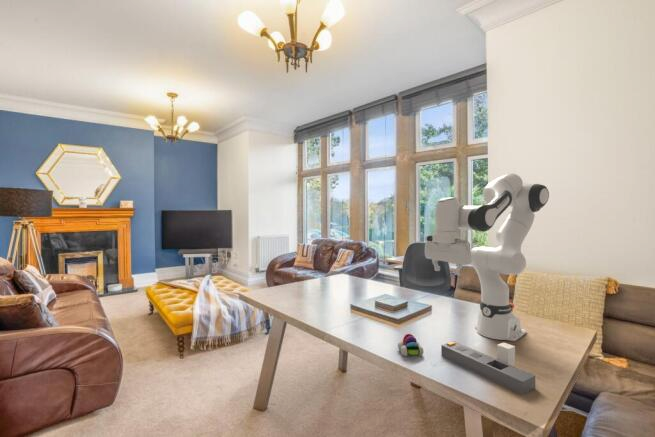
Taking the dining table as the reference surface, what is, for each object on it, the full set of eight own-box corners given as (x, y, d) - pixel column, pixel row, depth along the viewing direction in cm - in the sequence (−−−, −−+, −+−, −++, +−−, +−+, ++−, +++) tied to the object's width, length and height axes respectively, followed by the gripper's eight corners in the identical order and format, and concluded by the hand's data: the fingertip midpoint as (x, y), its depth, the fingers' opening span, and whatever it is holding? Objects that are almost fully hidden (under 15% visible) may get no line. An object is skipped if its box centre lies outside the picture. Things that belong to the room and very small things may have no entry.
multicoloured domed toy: (417, 347, 131) (417, 330, 131) (425, 359, 122) (425, 340, 121) (396, 348, 131) (396, 330, 131) (402, 359, 121) (403, 340, 121)
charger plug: (503, 367, 115) (503, 342, 114) (514, 372, 111) (515, 346, 111) (496, 370, 113) (497, 344, 112) (508, 375, 109) (508, 349, 109)
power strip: (453, 353, 125) (453, 339, 125) (535, 391, 99) (535, 373, 99) (441, 358, 122) (441, 343, 122) (522, 398, 96) (522, 379, 96)
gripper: (475, 239, 120) (475, 276, 121) (432, 236, 138) (432, 268, 138) (464, 240, 117) (464, 278, 118) (422, 236, 135) (422, 269, 135)
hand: (446, 272), depth 128 cm, fingers open, 8 cm apart
